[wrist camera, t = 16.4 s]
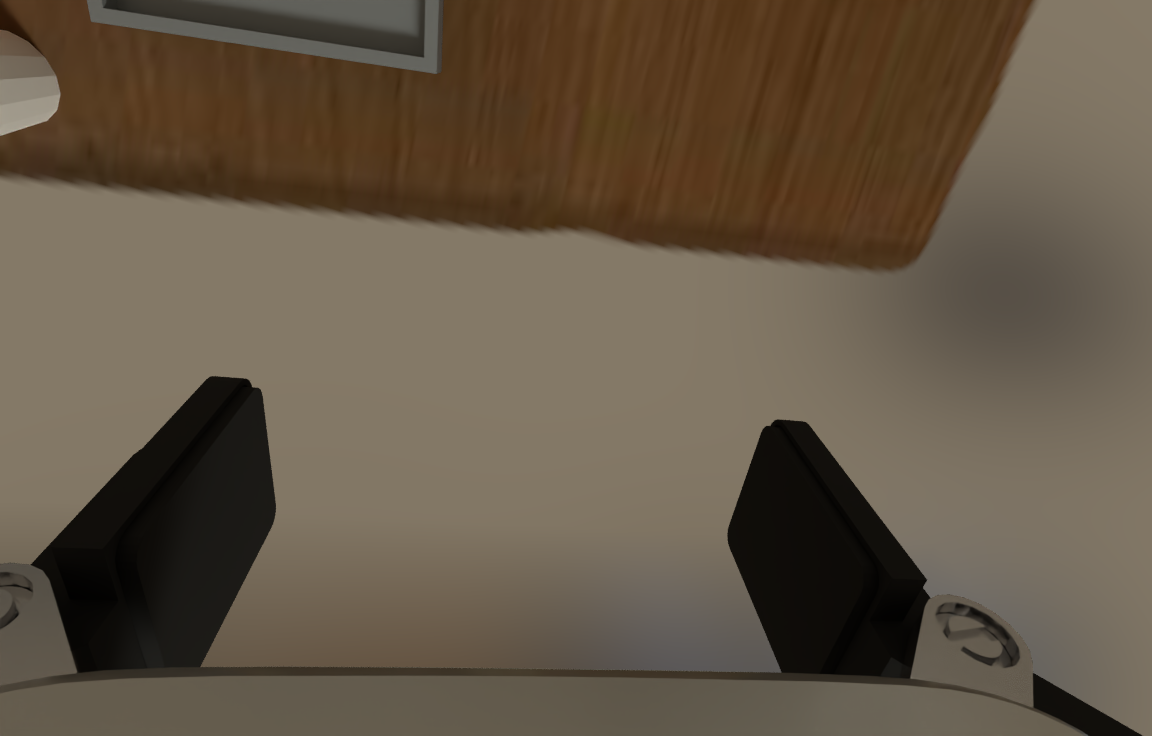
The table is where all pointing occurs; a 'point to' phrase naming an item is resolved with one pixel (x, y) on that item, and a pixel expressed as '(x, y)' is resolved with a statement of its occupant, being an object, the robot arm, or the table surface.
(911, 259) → the table surface
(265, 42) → the tray
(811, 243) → the table surface
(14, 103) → the cream short cylinder
